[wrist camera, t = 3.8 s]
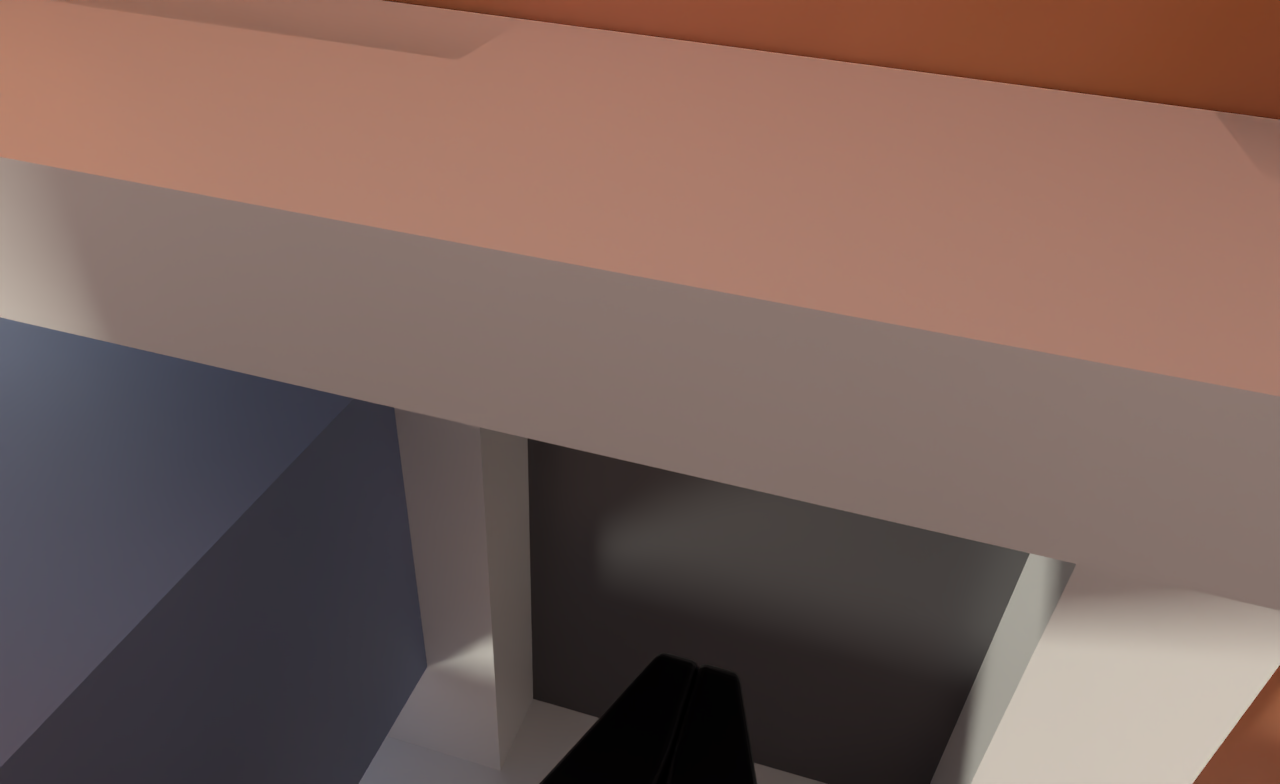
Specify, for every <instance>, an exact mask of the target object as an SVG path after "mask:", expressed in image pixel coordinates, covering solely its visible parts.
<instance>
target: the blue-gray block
mask: <svg viewBox="0 0 1280 784" xmlns="http://www.w3.org/2000/svg"><path fill="white" fill-rule="evenodd" d="M426 668H427V660H426V652H425V644H424V637H423V629H422V621H421V613H420V605H419V598H418V590H417V582H416V574H415V566H414V559H413V551H412V543H411V535H410V527H409V520H408V512H407V504H406V496H405V488H404V481H403V473H402V465H401V457H400V449H399V442H398V434H397V426H396V418H395V410H394V407H389V406H385V405H380V404H376V403H372V402H367V401H363V400H359V399H354V398H350V397H346V396H341V395H337V394H332V393H328V392H324V391H319V390H315V389H311V388H306V387H302V386H298V385H293V384H289V383H284V382H280V381H276V380H271V379H267V378H263V377H258V376H254V375H250V374H245V373H241V372H236V371H232V370H228V369H223V368H219V367H215V366H210V365H206V364H202V363H197V362H193V361H188V360H184V359H180V358H175V357H171V356H167V355H162V354H158V353H154V352H149V351H145V350H140V349H136V348H132V347H127V346H123V345H119V344H114V343H110V342H106V341H101V340H97V339H92V338H88V337H84V336H79V335H75V334H71V333H66V332H62V331H58V330H53V329H49V328H45V327H40V326H36V325H31V324H27V323H23V322H18V321H14V320H10V319H5V318H1V317H0V784H359V782H360V780H361V779H362V777H363V775H364V774H365V772H366V770H367V768H368V767H369V765H370V763H371V762H372V760H373V758H374V757H375V755H376V753H377V751H378V750H379V748H380V746H381V745H382V743H383V741H384V740H385V738H386V736H387V734H388V733H389V731H390V729H391V728H392V726H393V724H394V723H395V721H396V719H397V717H398V716H399V714H400V712H401V711H402V709H403V707H404V706H405V704H406V702H407V700H408V699H409V697H410V695H411V694H412V692H413V690H414V689H415V687H416V685H417V683H418V682H419V680H420V678H421V677H422V675H423V673H424V672H425V670H426Z"/></svg>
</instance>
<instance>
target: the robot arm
mask: <svg viewBox="0 0 1280 784" xmlns="http://www.w3.org/2000/svg"><path fill="white" fill-rule="evenodd" d="M539 784H757V779H756V773H755V767H754V761H753V755H752V749H751V743H750V737H749V731H748V725H747V719H746V712H745V706H744V700H743V694H742V688H741V682H740V679H739V676H738V675H737V674H736V673H735V672H734V671H730V670H727V669H723V668H719V667H716V666H712V665H709V664H704V665H701V666H700V667H699V668H698V666H697V663H696V662H695V661H693V660H690V659H687V658H683V657H679V656H676V655H672V654H668V653H661V654H659V655H658V656H656V657H655V658H654V659H653V660H652V661H651V662H650V663H649V664H648V665H647V666H646V668H645V669H644V670H643V671H642V672H641V673H640V674H639V675H638V676H637V677H636V678H635V680H634V681H633V682H632V683H631V684H630V685H629V686H628V687H627V688H626V689H625V690H624V692H623V693H622V694H621V695H620V696H619V697H618V698H617V699H616V700H615V701H614V702H613V704H612V705H611V706H610V707H609V708H608V709H607V710H606V711H605V712H604V713H603V714H602V716H601V717H600V718H599V719H598V720H597V721H596V722H595V723H594V724H593V725H592V726H591V728H590V729H589V730H588V731H587V732H586V733H585V734H584V735H583V736H582V737H581V738H580V740H579V741H578V742H577V743H576V744H575V745H574V746H573V747H572V748H571V749H570V750H569V752H568V753H567V754H566V755H565V756H564V757H563V758H562V759H561V760H560V761H559V762H558V763H557V765H556V766H555V767H554V768H553V769H552V770H551V771H550V772H549V773H548V774H547V775H546V777H545V778H544V779H543V780H542V781H541V782H540V783H539Z"/></svg>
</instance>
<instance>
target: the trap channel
mask: <svg viewBox="0 0 1280 784" xmlns="http://www.w3.org/2000/svg"><path fill="white" fill-rule="evenodd" d="M0 317H1V318H5V319H10V320H14V321H18V322H23V323H27V324H31V325H36V326H40V327H45V328H49V329H53V330H58V331H62V332H66V333H71V334H75V335H79V336H84V337H88V338H92V339H97V340H101V341H106V342H110V343H114V344H119V345H123V346H127V347H132V348H136V349H140V350H145V351H149V352H154V353H158V354H162V355H167V356H171V357H175V358H180V359H184V360H188V361H193V362H197V363H202V364H206V365H210V366H215V367H219V368H223V369H228V370H232V371H236V372H241V373H245V374H250V375H254V376H258V377H263V378H267V379H271V380H276V381H280V382H284V383H289V384H293V385H298V386H302V387H306V388H311V389H315V390H319V391H324V392H328V393H332V394H337V395H341V396H346V397H350V398H354V399H359V400H363V401H367V402H372V403H376V404H380V405H385V406H389V407H394V410H395V418H396V426H397V434H398V442H399V449H400V457H401V465H402V473H403V481H404V488H405V496H406V504H407V512H408V520H409V527H410V535H411V543H412V551H413V559H414V566H415V574H416V582H417V590H418V598H419V605H420V613H421V621H422V629H423V637H424V644H425V652H426V660H427V668H426V670H425V672H424V673H423V675H422V677H421V678H420V680H419V682H418V683H417V685H416V687H415V689H414V690H413V692H412V694H411V695H410V697H409V699H408V700H407V702H406V704H405V706H404V707H403V709H402V711H401V712H400V714H399V716H398V717H397V719H396V721H395V723H394V724H393V726H392V728H391V729H390V731H389V733H388V734H387V736H386V738H385V740H384V741H383V743H382V745H381V746H380V748H379V750H378V751H377V753H376V755H375V757H374V758H373V760H372V762H371V763H370V765H369V767H368V768H367V770H366V772H365V774H364V775H363V777H362V779H361V780H360V782H359V784H539V783H540V782H541V781H542V780H543V779H544V778H545V777H546V775H547V774H548V773H549V772H550V771H551V770H552V769H553V768H554V767H555V766H556V765H557V763H558V762H559V761H560V760H561V759H562V758H563V757H564V756H565V755H566V754H567V753H568V752H569V750H570V749H571V748H572V747H573V746H574V745H575V744H576V743H577V742H578V741H579V740H580V738H581V737H582V736H583V735H584V734H585V733H586V732H587V731H588V730H589V729H590V728H591V726H592V725H593V724H594V723H595V722H596V721H597V720H598V719H599V718H600V717H601V716H602V714H603V713H604V712H605V711H606V710H607V709H608V708H609V707H610V706H611V705H612V704H613V702H614V701H615V700H616V699H617V698H618V697H619V696H620V695H621V694H622V693H623V692H624V690H625V689H626V688H627V687H628V686H629V685H630V684H631V683H632V682H633V681H634V680H635V678H636V677H637V676H638V675H639V674H640V673H641V672H642V671H643V670H644V669H645V668H646V666H647V665H648V664H649V663H650V662H651V661H652V660H653V659H654V658H655V657H656V656H658V655H659V654H661V653H668V654H672V655H676V656H679V657H683V658H687V659H690V660H693V661H695V662H696V663H697V666H698V668H699V667H700V666H701V665H704V664H709V665H712V666H716V667H719V668H723V669H727V670H730V671H734V672H735V673H736V674H737V675H738V676H739V679H740V682H741V688H742V694H743V700H744V706H745V712H746V719H747V725H748V731H749V737H750V743H751V749H752V755H753V761H754V767H755V773H756V779H757V784H1192V783H1193V782H1194V781H1195V779H1196V778H1197V777H1198V775H1199V774H1200V773H1201V771H1202V770H1203V769H1204V767H1205V766H1206V764H1207V763H1208V762H1209V760H1210V759H1211V758H1212V756H1213V755H1214V754H1215V752H1216V751H1217V750H1218V748H1219V747H1220V745H1221V744H1222V743H1223V741H1224V740H1225V739H1226V737H1227V736H1228V735H1229V733H1230V732H1231V731H1232V729H1233V728H1234V726H1235V725H1236V724H1237V722H1238V721H1239V720H1240V718H1241V717H1242V716H1243V714H1244V713H1245V711H1246V710H1247V709H1248V707H1249V706H1250V705H1251V703H1252V702H1253V701H1254V699H1255V698H1256V697H1257V695H1258V694H1259V692H1260V691H1261V690H1262V688H1263V687H1264V686H1265V684H1266V683H1267V682H1268V680H1269V679H1270V678H1271V676H1272V675H1273V673H1274V672H1275V671H1276V669H1277V668H1278V667H1279V665H1280V119H1272V118H1265V117H1257V116H1250V115H1242V114H1235V113H1227V112H1220V111H1212V110H1204V109H1197V108H1189V107H1182V106H1174V105H1167V104H1159V103H1152V102H1144V101H1137V100H1129V99H1122V98H1114V97H1107V96H1099V95H1091V94H1084V93H1076V92H1069V91H1061V90H1054V89H1046V88H1039V87H1031V86H1024V85H1016V84H1009V83H1001V82H994V81H986V80H978V79H971V78H963V77H956V76H948V75H941V74H933V73H926V72H918V71H911V70H903V69H896V68H888V67H880V66H873V65H865V64H858V63H850V62H843V61H835V60H828V59H820V58H813V57H805V56H798V55H790V54H783V53H775V52H767V51H760V50H752V49H745V48H737V47H730V46H722V45H715V44H707V43H700V42H692V41H685V40H677V39H670V38H662V37H654V36H647V35H639V34H632V33H624V32H617V31H609V30H602V29H594V28H587V27H579V26H572V25H564V24H557V23H549V22H541V21H534V20H526V19H519V18H511V17H504V16H496V15H489V14H481V13H474V12H466V11H459V10H451V9H444V8H436V7H428V6H421V5H413V4H406V3H398V2H391V1H383V0H0Z"/></svg>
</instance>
